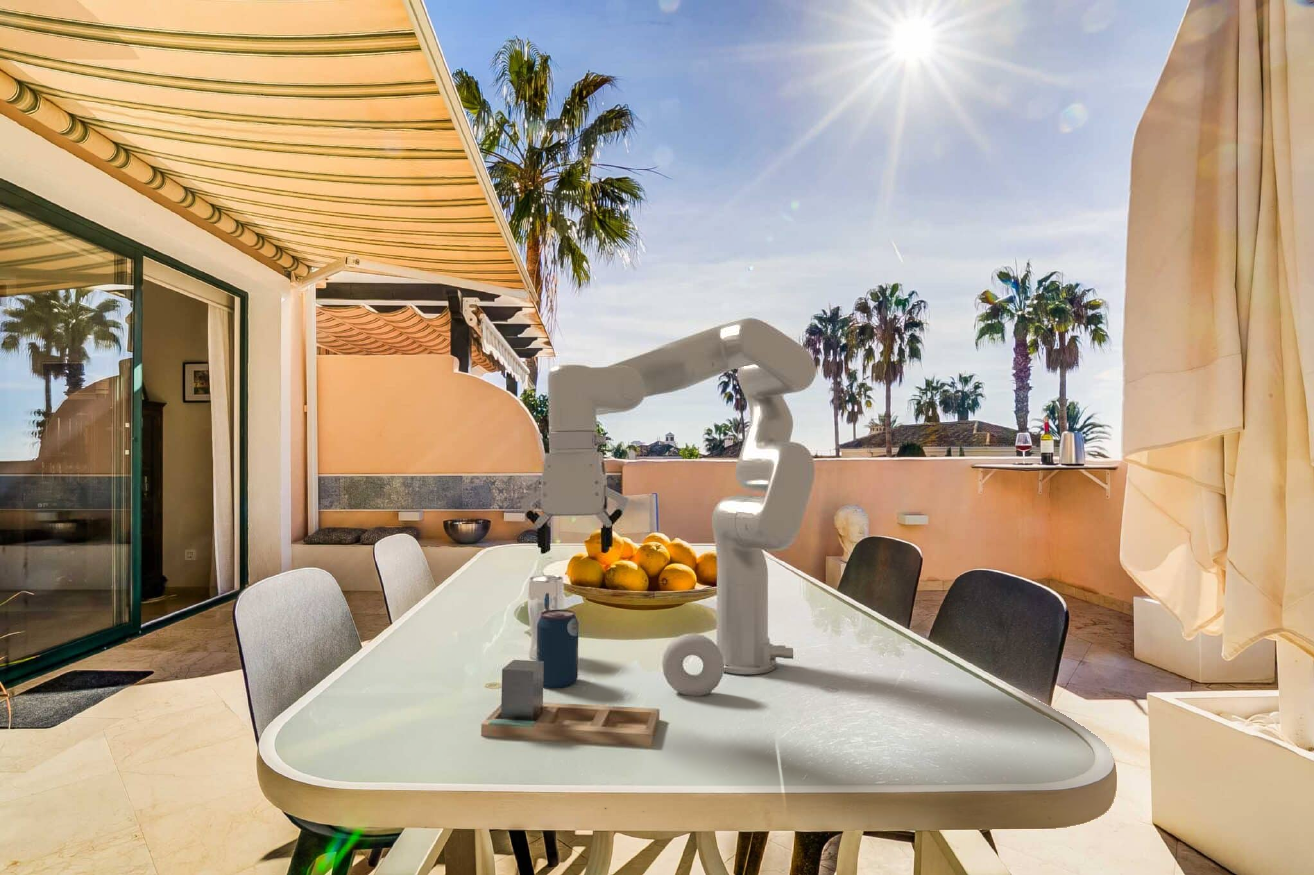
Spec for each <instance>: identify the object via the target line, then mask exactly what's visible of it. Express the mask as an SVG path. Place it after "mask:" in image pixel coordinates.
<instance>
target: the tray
mask: <svg viewBox="0 0 1314 875" xmlns="http://www.w3.org/2000/svg"><path fill="white" fill-rule="evenodd" d="M660 710H661V709H660V708H654V707H653V708H650V707H649V708H648V707H634V706H632V707H631V706H630V707H629V706H616V705H615V706H614V705H613V706H612V705H598V704H596V705H593V704H583V703H582V704H580V703H579V704H578V703H564V702H563V703H562V702H561V703H560V702H544V701H543V714H542V715H541V716H540V718H539V719H538V720H537V721H536V723H535V721H523V720H506V719H501V704H500V705H499V706H498V707H497V708H496V709H495V710H493V711H492V713H491V714H490V715H489V716H488V717H486V719H485V720H484V721H482V722H481V724H480V725H481V727H480V736H481V737H491V738H492V737H494V738H508V739H509V738H510V739H525V740H541V741H555V742H556V741H557V742H570V743H571V742H572V743H587V744H604V745H605V744H606V745H618V746H619V745H620V746H632V747H633V746H635V747H636V746H638V747H650V748H651V747H652V746H653V742H654V738H655V736H656V732H657V729H658V725H659V722H660Z"/></svg>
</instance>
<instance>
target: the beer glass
mask: <svg viewBox="0 0 1314 875" xmlns="http://www.w3.org/2000/svg"><path fill="white" fill-rule="evenodd" d="M528 580H529V581H528V588H527V590H528V591H527V611H528V613H527V614H528V621H529V627H530V636H531V641H530V647H529V651H528V652H529V653H528V657H529V658H530V659H531V658H532V660H534V659H536V657H537V623H538V621H539V619H540V617H541V613H542V612H544V611H548V610H557V609H563V610H564V604H565V594H564V593H565V590H564V589H565V588H564V587H565V586H564V577H563V576H559V575H549V574H548V575H547V574H546V575H545V574H544V575H543V574H542V575H535V576H532V577H531V576H530V577H529V579H528Z"/></svg>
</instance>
